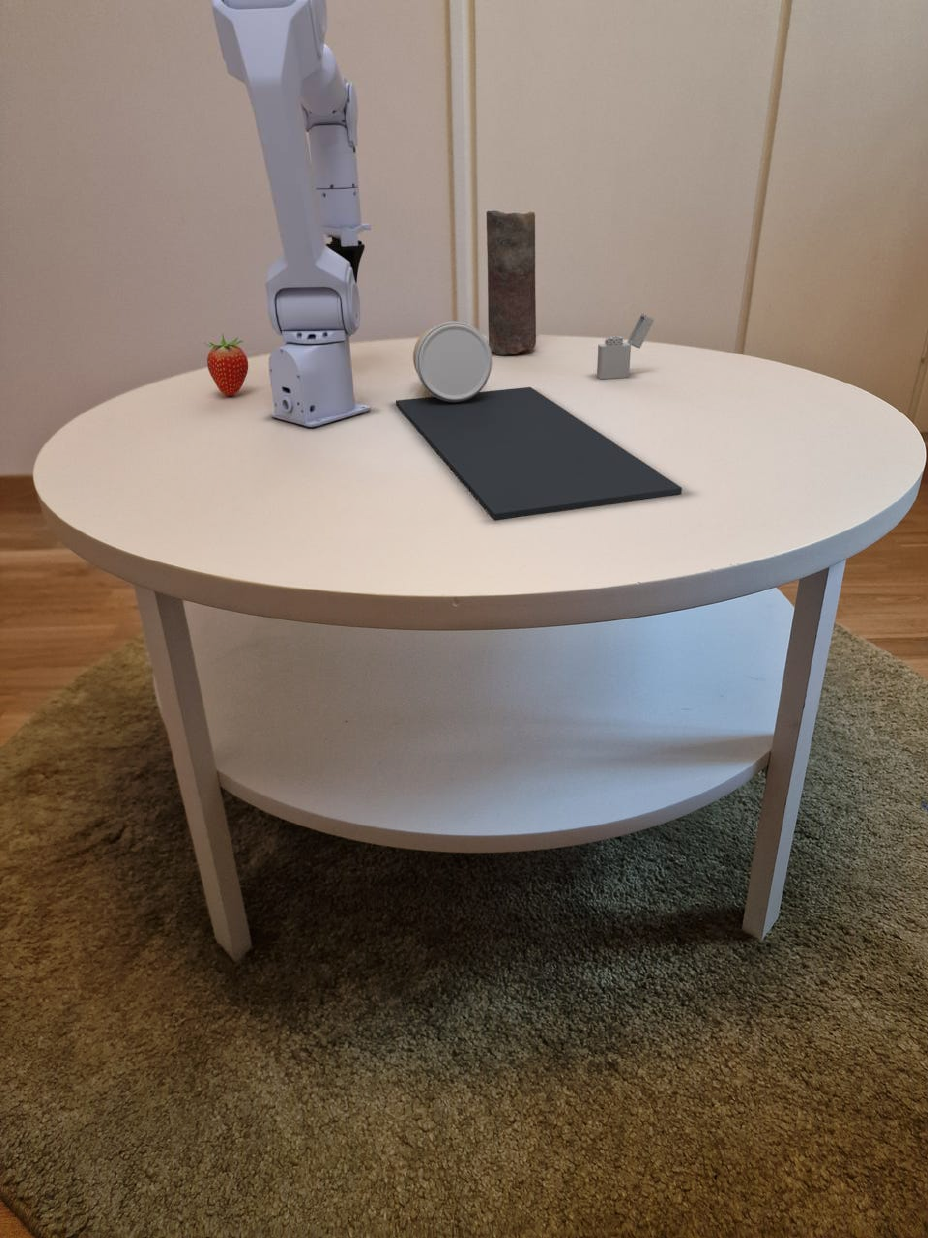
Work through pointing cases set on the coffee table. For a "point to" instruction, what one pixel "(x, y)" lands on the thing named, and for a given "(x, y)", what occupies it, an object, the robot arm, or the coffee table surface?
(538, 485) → the mat
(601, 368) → the lighter
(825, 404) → the coffee table surface
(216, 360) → the fruit
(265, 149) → the robot arm
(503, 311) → the brown stone cylinder
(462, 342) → the coffee cup
